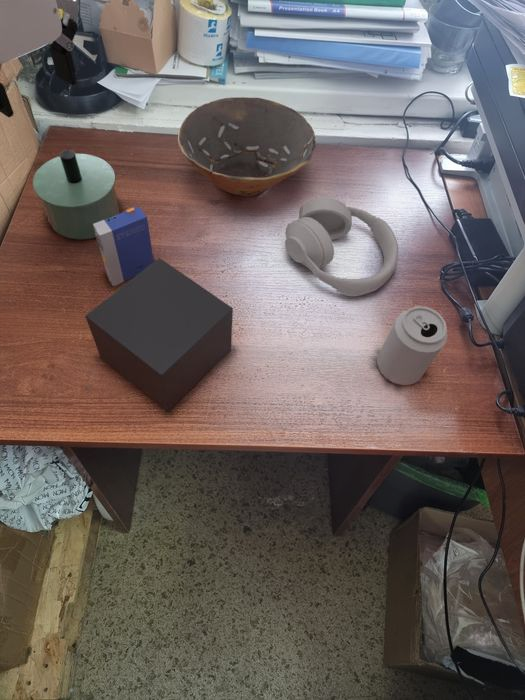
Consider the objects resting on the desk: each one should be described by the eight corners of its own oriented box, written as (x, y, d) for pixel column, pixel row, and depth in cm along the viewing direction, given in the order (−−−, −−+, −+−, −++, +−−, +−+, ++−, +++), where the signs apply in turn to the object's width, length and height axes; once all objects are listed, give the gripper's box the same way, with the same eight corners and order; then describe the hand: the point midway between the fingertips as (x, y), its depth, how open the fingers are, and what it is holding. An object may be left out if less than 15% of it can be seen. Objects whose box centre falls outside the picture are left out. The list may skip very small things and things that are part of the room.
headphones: (265, 264, 88) (366, 321, 87) (275, 235, 81) (384, 295, 80) (308, 203, 97) (400, 253, 96) (320, 172, 91) (419, 225, 89)
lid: (70, 220, 81) (62, 194, 76) (16, 182, 85) (5, 155, 80) (132, 180, 87) (127, 153, 83) (78, 146, 91) (71, 119, 86)
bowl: (312, 150, 107) (321, 106, 99) (300, 232, 94) (309, 189, 86) (196, 131, 108) (194, 85, 99) (167, 210, 94) (163, 165, 86)
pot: (81, 250, 88) (71, 217, 81) (34, 216, 91) (20, 182, 85) (133, 213, 93) (127, 180, 87) (87, 182, 97) (78, 148, 90)
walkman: (147, 257, 88) (138, 204, 78) (154, 268, 87) (146, 215, 77) (105, 275, 85) (90, 222, 75) (112, 286, 84) (98, 234, 74)
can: (400, 396, 77) (428, 355, 67) (365, 362, 80) (387, 318, 70) (432, 370, 80) (463, 327, 70) (397, 339, 83) (422, 293, 73)
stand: (168, 413, 73) (161, 375, 63) (100, 358, 76) (84, 315, 67) (231, 350, 79) (233, 308, 70) (165, 303, 83) (159, 257, 74)
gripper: (32, -104, 54) (70, 58, 69) (-124, -62, 46) (-43, 112, 61) (79, -82, 52) (109, 80, 67) (-75, -34, 44) (-3, 139, 59)
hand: (36, 95), depth 64 cm, fingers open, 9 cm apart
